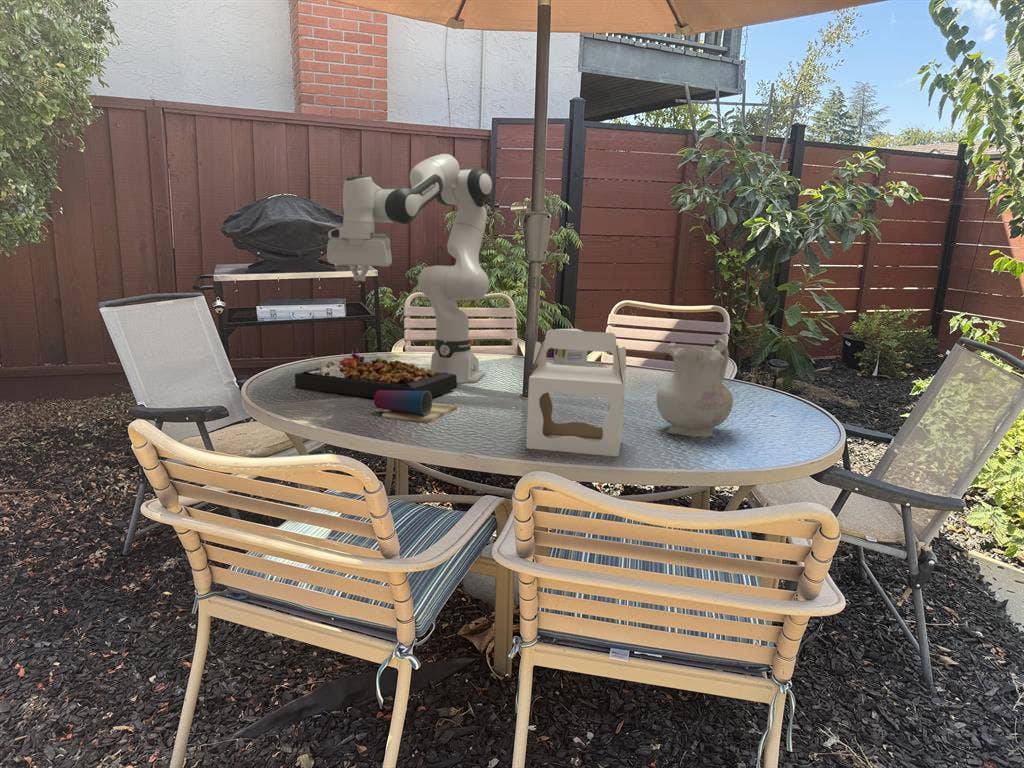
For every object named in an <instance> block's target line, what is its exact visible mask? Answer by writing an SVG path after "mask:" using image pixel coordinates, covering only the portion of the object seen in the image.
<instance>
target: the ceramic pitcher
mask: <svg viewBox="0 0 1024 768" xmlns="http://www.w3.org/2000/svg"><path fill="white" fill-rule="evenodd" d="M667 346H668V352H669V354H670V356H671V357H672V358H673V359H672V361H673V364H674V373H673V375H672V376H671V378H669V379H668V380H667V381H665V382H664V383H661V384H660V385H659V386H658V388H657V391H656V407H657V409H658V412H659V413H660V415H661V417H662V419H664V421H666V422H667V423H669V424H670V425H671V426H670V427H669V428H668V429H667V430H666V433H667V434H671V435H679V436H687V437H690V438H691V437H692V438H695V439H696V438H698V439H702V438H713V437H714V431H713V430H712V429H713V428H715V427H718V426H720V425H721V424H723V423H724V422H725V421H726V420H727V419H728V418H729V416H730V414H731V412H732V409H733V405H734V398H733V394H732V392H731V391H730V389H728V388H727V387H726V386H725V385H724V384H723V380H724V378H725V376H726V371H727V367H728V363H729V356H730V352H729V348H728V344H726V340H725V339H724V338H722V337H719V338H715V339H714V345H713V348H711V349H710V350H702V349H700V348H698V347H694V348H690V349H686V350H685V349H684V348H681V347H678V348H677V344H676V342H670V343H667Z"/></svg>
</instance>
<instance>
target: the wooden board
mask: <svg viewBox="0 0 1024 768" xmlns="http://www.w3.org/2000/svg"><path fill="white" fill-rule="evenodd" d="M456 410H458V405H451V404H443V403H438V402H437V403H436V402H432V408H431V411H430V413H429V414H428V415H427V416H423V415H417V414H410V413H404V412H398V411H392V410H387V411H386V412H383V413H382V414H381V417H382V418H387V419H388V418H390V419H396V420H404V421H411V422H417V423H424V424H429V423H431V422H434V421H435V420H437V419H439V418H441V417H443V416H446V415H447V414H450V413H451V412H454V411H456Z"/></svg>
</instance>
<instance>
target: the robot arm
mask: <svg viewBox="0 0 1024 768" xmlns="http://www.w3.org/2000/svg"><path fill="white" fill-rule="evenodd" d="M459 164H460V163H459V162H458V160H457V159H456V158H455V157H454V155H451V154H449V153H441V154H436V155H433V156H430V157H428V158H426V159H424V160H422V161H421V162H419V163H417V164H416V165H415V166H413V168H412V169H410V173H409V184H410V187H411V188H409V187H404V188H403V187H401V188H400V187H399V188H382V187H380V186H379V185H377V184H376V183H375V182H374V180H373V178H372V176H370V175H369V174H367V175H366V174H363V175H362V174H361V175H351V176H348V177H346V178H345V180H344V182H343V189H342V207H343V212H344V216H343V220H342V222H343V223H342V226H338V227H336V228H334V229H331V230H329V231H328V233H327V234H328V235H327V236H328V238H329V240H328V242H327V248H326V260H327V262H328V263H329V264H330V265H333V264H334V265H349V269H350V272H351V273H352V276H353V281H355V282H366V275H367V274H368V272H369V270H370V268H369V266H371V267H389V266H391V264H392V263H393V260H392V251H391V238H390V237H389V235H387V234H386V233H377V232H376V233H375V223H386V224H388V223H389V224H390V223H395V224H402V225H408V224H411V223H413V222H414V220H415V219H416V218H417V217H418V215H419V213H420V212H421V211H422V209H424V207H426V206H427V205H428V204H429V203H431V202H432V201H434V200H436V201H437V202H438V203H440V204H441V205H443V206H454V205H455V206H457V213H456V215H455V218H454V221H453V223H452V227H451V230H450V234H449V237H448V240H447V244H446V245H447V251H448V253H449V255H450V256H451V257H452V258H454V259H455V264H454V265H452V266H451V265H431V266H426V267H424V268H422V269H421V270H420V272H419V274H418V277H417V278H418V281H417V283H418V287H419V290H420V292H421V293H422V294H423V295H425V296H426V298H427V299H428V301H429V302H430V304H431V306H432V309H433V312H434V316H435V327H436V328H435V329H436V330H435V331H436V333H435V334H436V335H435V336H436V337H435V339H434V350H435V351H434V352H433V353H432V354H431V360H430V370H433V371H434V372H436V373H445V372H446V373H448V374H455V375H456V376H457V384H461V383H463V384H464V383H478V382H479V381H480V380H481V379H482V378H483V377H484V376H485V375H486V372H485V371H480V370H479V368H480V367H479V359H478V358H477V356H476V355H475V354H474V353H473V351H472V348H471V346H472V345H474V340H473V339H472V338H469V327H470V324H469V322H470V320H469V317H468V315H467V314H466V312H464V311H463V310H462V309H460V307H459V306H458V303H457V300H463V301H472V300H479V299H483V298H485V296H486V294H487V293H488V291H489V288H490V279H489V276H488V275H487V273H486V272H485V271H484V269H483V268H482V266H481V264H480V258H479V257H480V256H479V255H480V250H481V246H482V243H483V238H484V236H485V231H486V224H487V215H488V214H487V209H486V207H485V206H486V205H487V204H488V202H489V201H490V200H489V199H490V198H491V196H492V192H493V188H494V187H493V186H494V185H493V178H492V177H491V175H490V173H489V172H488V171H487V170H486V169H482V168H473V169H460V165H459ZM359 266H360V270H361V272H360V274H359V272H358V269H359Z"/></svg>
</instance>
